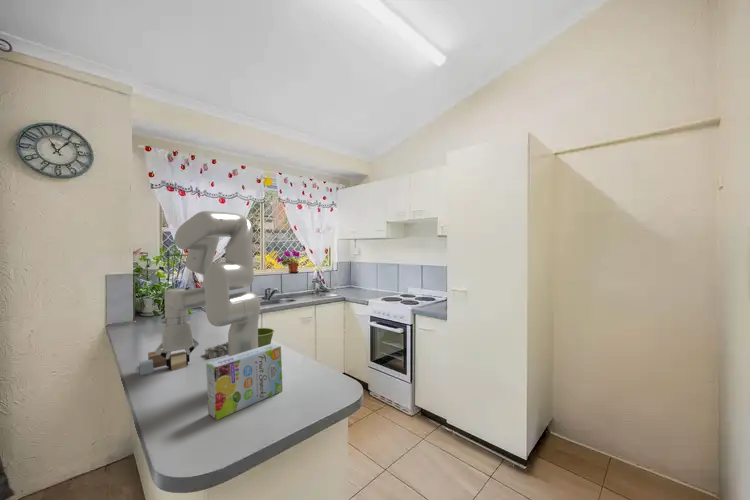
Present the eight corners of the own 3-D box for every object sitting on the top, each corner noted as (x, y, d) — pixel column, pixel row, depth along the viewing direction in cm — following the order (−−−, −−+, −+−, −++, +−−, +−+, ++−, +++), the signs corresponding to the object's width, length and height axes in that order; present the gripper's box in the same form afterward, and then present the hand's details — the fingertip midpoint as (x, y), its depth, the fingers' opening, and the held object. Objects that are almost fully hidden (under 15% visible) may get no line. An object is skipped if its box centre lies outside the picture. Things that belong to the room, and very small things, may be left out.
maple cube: (186, 367, 122) (186, 354, 122) (171, 370, 119) (171, 357, 119) (184, 363, 126) (184, 351, 126) (170, 366, 123) (169, 354, 123)
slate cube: (153, 372, 117) (153, 362, 117) (140, 375, 115) (139, 365, 115) (152, 369, 120) (152, 359, 120) (139, 372, 118) (139, 361, 118)
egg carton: (209, 360, 130) (209, 350, 129) (203, 355, 135) (203, 346, 135) (235, 352, 137) (235, 343, 137) (228, 349, 143) (228, 340, 142)
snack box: (273, 386, 105) (272, 342, 104) (283, 391, 101) (282, 345, 101) (207, 414, 88) (205, 362, 88) (216, 421, 85) (214, 367, 84)
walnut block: (168, 365, 124) (167, 352, 124) (149, 369, 121) (149, 356, 120) (166, 360, 129) (165, 349, 129) (148, 364, 125) (148, 352, 125)
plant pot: (265, 364, 123) (264, 336, 123) (238, 362, 126) (238, 335, 126) (280, 353, 135) (279, 328, 135) (255, 352, 137) (254, 327, 137)
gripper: (150, 326, 114) (152, 375, 114) (203, 318, 124) (204, 363, 125) (149, 322, 119) (151, 368, 120) (199, 315, 130) (200, 358, 131)
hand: (178, 365), depth 122 cm, fingers closed on maple cube, 5 cm apart
